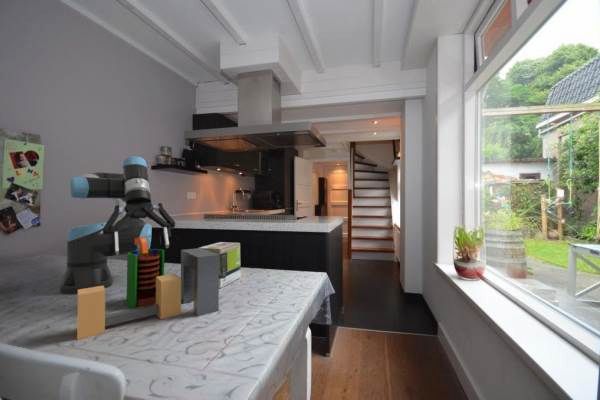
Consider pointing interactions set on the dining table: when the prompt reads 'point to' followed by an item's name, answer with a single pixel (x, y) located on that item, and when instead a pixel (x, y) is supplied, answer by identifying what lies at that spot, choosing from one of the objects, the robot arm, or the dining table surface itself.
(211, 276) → the housing
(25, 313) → the dining table surface
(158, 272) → the motor
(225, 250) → the tea box
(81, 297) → the tan u-shaped piece
